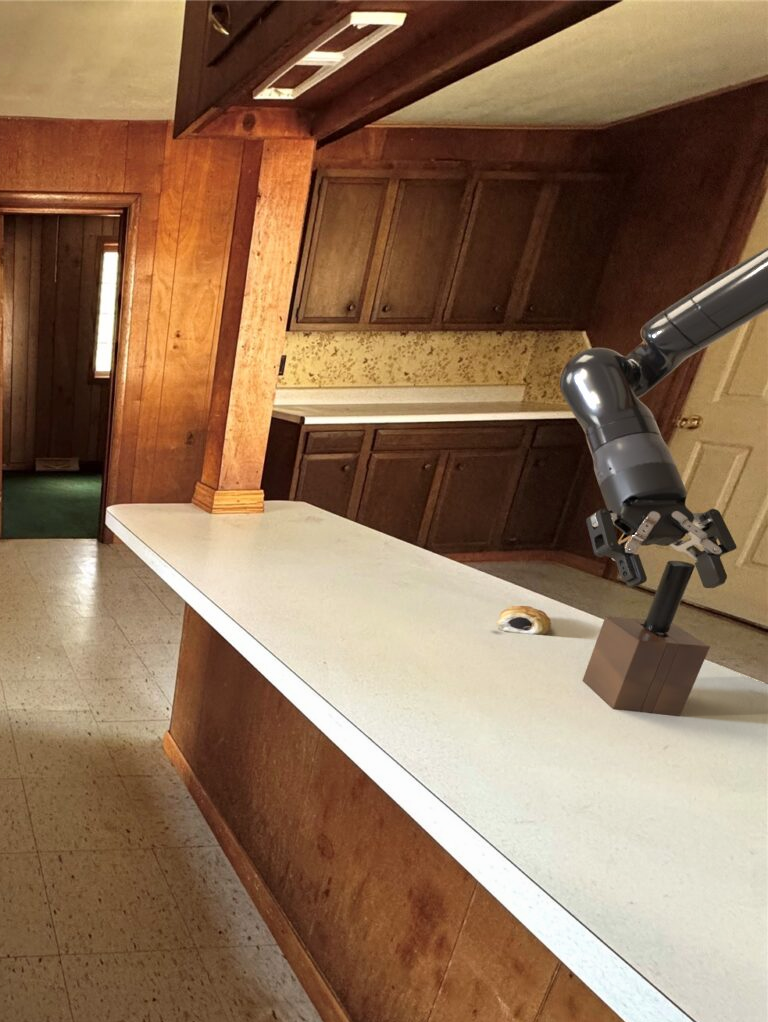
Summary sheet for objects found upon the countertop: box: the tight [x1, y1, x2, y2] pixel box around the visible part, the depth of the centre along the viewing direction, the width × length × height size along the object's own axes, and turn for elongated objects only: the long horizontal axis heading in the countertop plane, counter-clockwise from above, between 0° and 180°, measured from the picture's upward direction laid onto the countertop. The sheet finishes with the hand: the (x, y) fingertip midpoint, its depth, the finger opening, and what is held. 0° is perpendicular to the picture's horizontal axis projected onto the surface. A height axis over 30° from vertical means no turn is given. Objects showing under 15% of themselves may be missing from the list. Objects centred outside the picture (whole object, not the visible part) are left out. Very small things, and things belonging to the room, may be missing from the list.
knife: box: [643, 560, 696, 637], centre depth 86 cm, size 2×3×19 cm
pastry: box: [496, 605, 552, 636], centre depth 112 cm, size 9×7×4 cm
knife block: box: [582, 615, 711, 717], centre depth 88 cm, size 7×8×11 cm
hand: (676, 585), depth 83 cm, fingers open, 8 cm apart
